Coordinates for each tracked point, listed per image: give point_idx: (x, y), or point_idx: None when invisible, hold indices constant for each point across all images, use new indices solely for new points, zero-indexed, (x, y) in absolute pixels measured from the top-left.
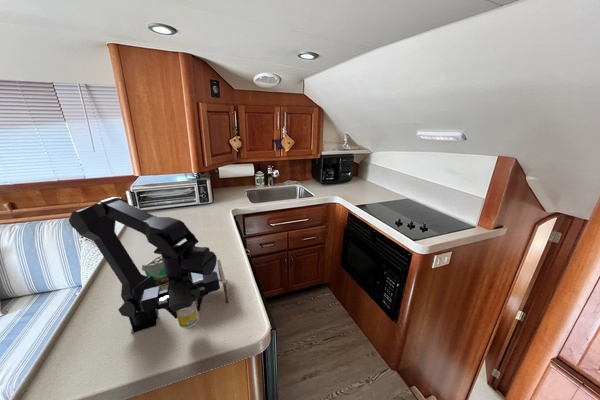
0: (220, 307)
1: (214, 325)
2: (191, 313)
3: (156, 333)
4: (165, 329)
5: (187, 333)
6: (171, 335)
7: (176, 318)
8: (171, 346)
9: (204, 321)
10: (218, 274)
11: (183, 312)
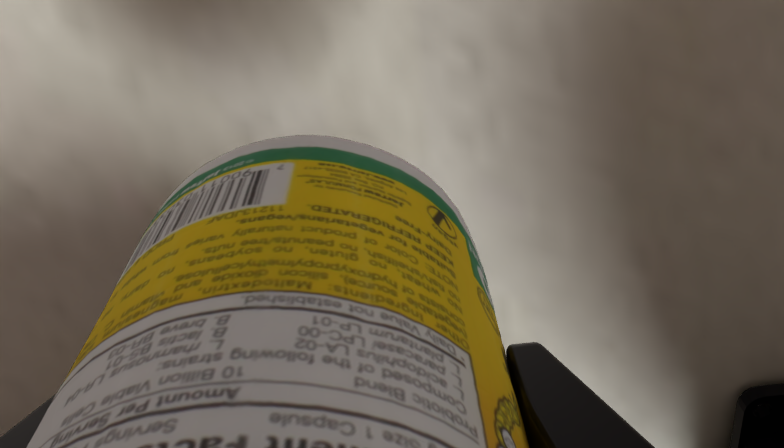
0: None
1: (57, 195)
2: (113, 343)
3: (738, 291)
4: (644, 314)
5: None
6: (578, 213)
7: (524, 345)
8: (574, 47)
9: None
10: None
11: (288, 413)
